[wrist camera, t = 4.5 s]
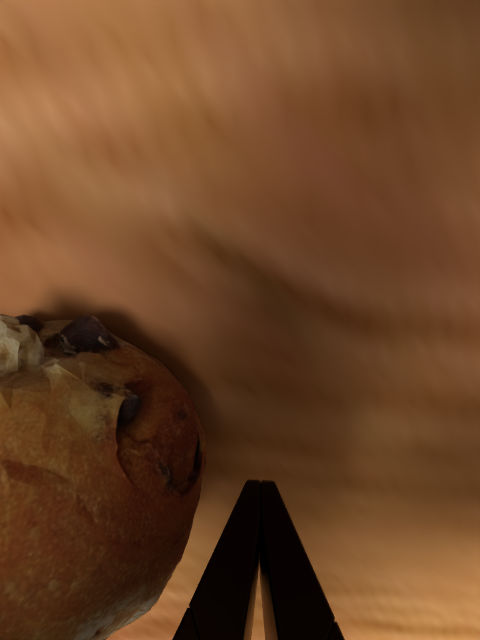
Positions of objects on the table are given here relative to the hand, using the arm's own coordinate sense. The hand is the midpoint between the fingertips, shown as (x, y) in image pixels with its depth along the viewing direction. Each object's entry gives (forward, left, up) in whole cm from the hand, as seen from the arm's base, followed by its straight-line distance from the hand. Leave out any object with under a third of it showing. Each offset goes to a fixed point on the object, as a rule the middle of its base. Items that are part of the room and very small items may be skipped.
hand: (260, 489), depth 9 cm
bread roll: (+7, 0, -2) cm, 7 cm away
